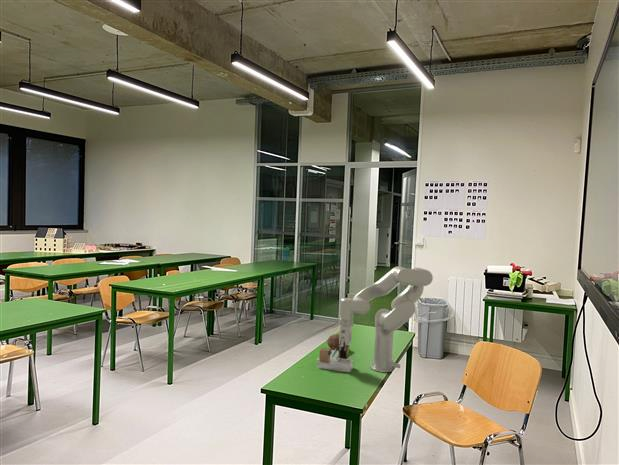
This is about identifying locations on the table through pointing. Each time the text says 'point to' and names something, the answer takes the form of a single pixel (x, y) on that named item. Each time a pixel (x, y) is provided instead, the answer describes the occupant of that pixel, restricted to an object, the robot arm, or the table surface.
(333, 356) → the metal bracket
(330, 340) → the decorative rock
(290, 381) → the table surface
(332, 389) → the table surface
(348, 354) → the wood grain cube
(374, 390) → the table surface
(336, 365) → the white desk organizer
